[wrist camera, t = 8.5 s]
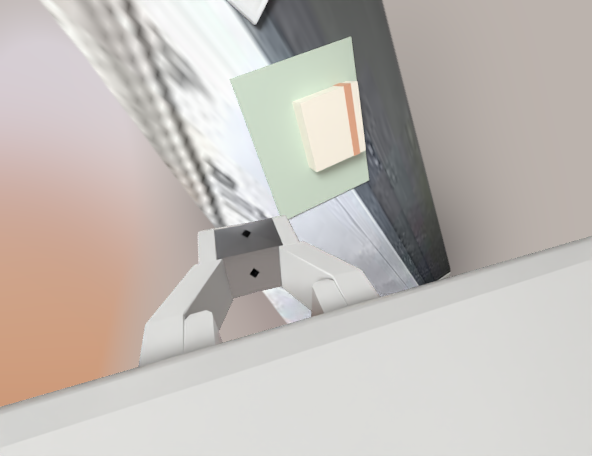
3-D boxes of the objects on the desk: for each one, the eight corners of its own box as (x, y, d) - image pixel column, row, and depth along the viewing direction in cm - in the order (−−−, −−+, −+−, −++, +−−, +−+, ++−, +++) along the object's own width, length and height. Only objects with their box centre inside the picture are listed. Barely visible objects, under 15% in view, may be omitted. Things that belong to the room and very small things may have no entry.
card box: (300, 102, 31) (357, 80, 33) (291, 101, 33) (345, 80, 35) (317, 172, 36) (366, 150, 38) (308, 167, 39) (355, 146, 40)
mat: (229, 79, 30) (230, 79, 30) (349, 36, 33) (351, 36, 33) (281, 220, 41) (282, 221, 41) (367, 179, 44) (369, 180, 44)
